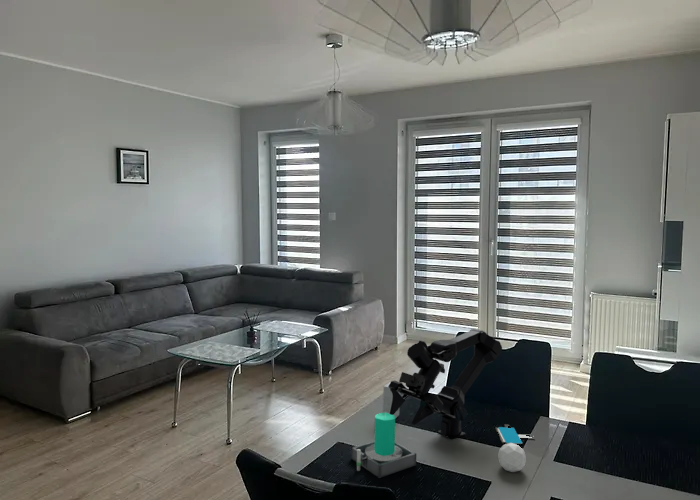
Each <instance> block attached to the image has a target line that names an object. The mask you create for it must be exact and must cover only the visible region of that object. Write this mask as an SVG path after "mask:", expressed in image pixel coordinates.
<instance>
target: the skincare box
mask: <svg viewBox="0 0 700 500" xmlns="http://www.w3.org/2000/svg"><path fill="white" fill-rule="evenodd" d="M390 383H391V381H390V382H388V383H386V384H385V385H384V386H383V391H382V392H383V395H382V397H383V398H382V413H389V414H390V410H391V405H392V399H393V395H392V392H391V391H390V388H389V387H388V386H389V384H390ZM400 408H401V407H400ZM400 408H399V409H398V410H397V411H396V412H395V413H394V414H393V415H394V416H395V419H397V418H398V417H399V416H400Z"/></svg>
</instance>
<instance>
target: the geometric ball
mask: <svg viewBox="0 0 700 500" xmlns="http://www.w3.org/2000/svg"><path fill="white" fill-rule="evenodd" d="M521 447H522V446H521ZM521 447H520V446H519V445H517V444H514V443H505V444H503V445H502V446H501V447H500V448H499V449H498V454H497V459H498V462H499V464H500V466H501V467H502V468H503V469H504V471H508V472H510V473H517V472H520V471H521V470H522V469H523V468H525V466H526V460H527V456H526V453H525V450H524V449H523V448H521Z"/></svg>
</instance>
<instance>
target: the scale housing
mask: <svg viewBox="0 0 700 500" xmlns="http://www.w3.org/2000/svg"><path fill="white" fill-rule="evenodd" d="M374 441H375V440H372V441H370V442H365V443H362V444H359V445H355V446H352V447H351V460H353V462H355V463H356V472H360V471H361V467H362V468H364V469H365V470H366V471H369V472H370V473H371V474H372V475H374V476H376V477H377V478H379V479H380V478H384V477H387V476H389V475H392V474H395V473H397V472H401V471H404V470H406V469H409V468H412V467H416V466H417V453H416V452H414V451H412V450H411V449H409V448H407V447H406V446H404V445H402V444H400V443H399V442H398V441H395V445H396V446H398V447H399V448H400V449H401V450H402V457H400V458H397V459H394V460H391V461H388V462H385V463H378V462H376V461H374V460H373V459H371V458H370V457H369V458H367V460H365V461H361V458H364V457H366V456H365V449H366V448H367V447H368V446H370V445H372V444H374Z"/></svg>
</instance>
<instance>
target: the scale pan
mask: <svg viewBox="0 0 700 500" xmlns="http://www.w3.org/2000/svg"><path fill="white" fill-rule="evenodd" d="M365 456H366V457H364V458H361V461H365V460H367V458H369V457H370V458H371V459H373V460H374V461H376V462H378V463H385V462H388V461H391V460H394V459H397V458H400V457H402V450H401V449H400V448H399V447H398V446H396V445H395V452H394V453H393V454H391V455H379V454H377V453H375V450H374V444H372V445H370V446H368V447H367V448H366V449H365Z"/></svg>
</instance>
